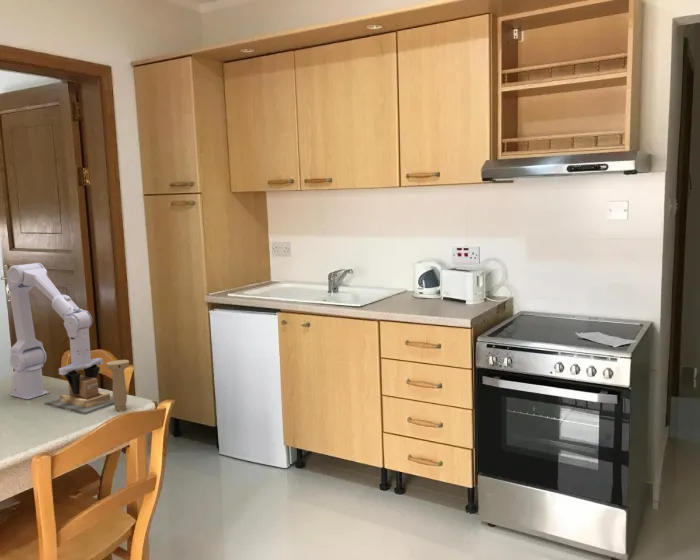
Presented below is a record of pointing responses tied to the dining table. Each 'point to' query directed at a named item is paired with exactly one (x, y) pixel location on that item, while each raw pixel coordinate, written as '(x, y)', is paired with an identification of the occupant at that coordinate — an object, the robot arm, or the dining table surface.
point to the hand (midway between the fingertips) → (83, 391)
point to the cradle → (82, 403)
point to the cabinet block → (86, 388)
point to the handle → (119, 383)
